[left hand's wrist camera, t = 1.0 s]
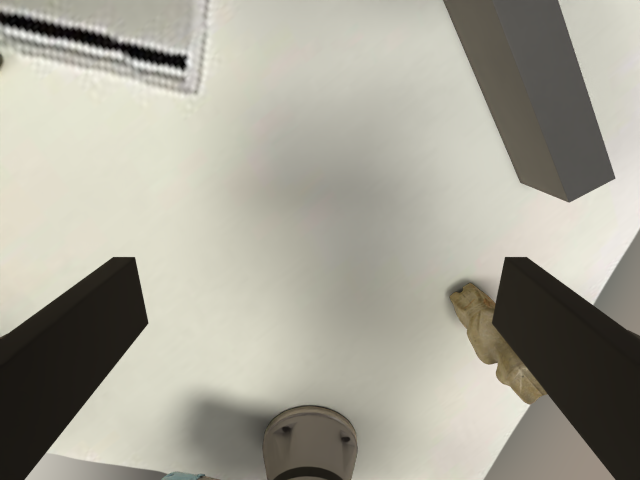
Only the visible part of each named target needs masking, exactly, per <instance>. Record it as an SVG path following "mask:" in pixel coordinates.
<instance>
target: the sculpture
mask: <svg viewBox="0 0 640 480" xmlns="http://www.w3.org/2000/svg"><path fill="white" fill-rule="evenodd" d="M450 299H451V301H452V303H453V305H454V308H455V311H456V314H457V316H458V318H459V320H460V321H461V323H462V324H463V325H464V326H465V328H467V335H468V338H469V340H470V342H471V344H472V346H473V348H474V350H475V352H476V354H477V356H478V357H479V359H480V360H481V361H482V362H484V363H485V364H494V363H498V367H497V370H496V376H497V378H498V380H499V381H500V382H501V383H503V384H505V385H508V386H510V387H511V388H512V389H513V390H514V392H515V393H516V394H517V395H518V396H519V397H520V398H521V399H522V400H523V401H524V402H525V403H527V404H532V403H534V402H535V401H536V400H537V399H538V398H539V397H540V396H543V395H546V394H547V393H546V391H545V390H544V389H543V388H542V386H541V385H540V384H539V382H538V381H537V380H536V379H535V377H534V376H533V375H532V374H531V372H530V371H529V370H528V369H527V367H526V366H525V365H524V364H523V362H522V361H521V360H520V359H519V357H518V356H517V355H516V353H515V352H514V351H513V350H512V348H511V347H510V346H509V345H508V343H507V342H506V341H505V340H504V338H503V337H502V336H501V335H500V333H499V332H498V331H497V329H496V328H495V327H494V326H493V324H492V319H493V314H494V309H495V302H494V301H493V300H492V299H491V298H489V297H488V296H487V295H486V294H485V293H484V292H482V291H480V290H479V289H478V288H477V287H476V286H474V285H473V284H472V283H469V284H467V285H465V286H464V287H463V291H462V292H461V293H458V292H455V293H453V294H452V295H451V296H450Z"/></svg>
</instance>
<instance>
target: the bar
mask: <svg viewBox="0 0 640 480" xmlns="http://www.w3.org/2000/svg"><path fill="white" fill-rule="evenodd" d="M443 1H444V3H445V5H446V8H447V10H448V12H449V15H450V17H451V19H452V22H453V24H454V26H455V29H456V31H457V34H458V36H459V38H460V41H461V43H462V45H463V48H464V50H465V52H466V55H467V57H468V60H469V62H470V64H471V67H472V69H473V71H474V74H475V76H476V78H477V81H478V83H479V85H480V88H481V90H482V93H483V95H484V97H485V100H486V102H487V104H488V107H489V109H490V111H491V114H492V116H493V119H494V121H495V123H496V126H497V128H498V130H499V133H500V135H501V137H502V140H503V142H504V144H505V147H506V149H507V152H508V154H509V156H510V159H511V161H512V163H513V166H514V168H515V170H516V173H517V175H518V178H519V180H520V182H521V183H523V184H525V185H527V186H530V187H532V188H535V189H537V190H540V191H542V192H545V193H547V194H549V195H552V196H554V197H557V198H559V199H562V200H564V201H566V202H571V201H573V200H575V199H577V198H579V197H581V196H583V195H585V194H587V193H588V192H590V191H592V190H594V189H596V188H598V187H600V186H602V185H604V184H606V183H608V182H610V181H612V180H613V179H615V176H614V172H613V169H612V166H611V163H610V160H609V157H608V154H607V151H606V148H605V145H604V141H603V138H602V135H601V132H600V129H599V126H598V123H597V120H596V117H595V114H594V110H593V107H592V104H591V101H590V98H589V95H588V92H587V89H586V86H585V83H584V79H583V76H582V73H581V70H580V67H579V64H578V61H577V58H576V55H575V52H574V49H573V45H572V42H571V39H570V36H569V33H568V30H567V27H566V24H565V21H564V18H563V14H562V11H561V8H560V5H559V2H558V0H443Z"/></svg>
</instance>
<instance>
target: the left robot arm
mask: <svg viewBox="0 0 640 480" xmlns="http://www.w3.org/2000/svg"><path fill="white" fill-rule="evenodd" d="M147 324H148V319H147V314H146V309H145V304H144V299H143V294H142V289H141V285H140V280H139V275H138V270H137V265H136V260H135V257H113V258H111V259H110V260H109V261H107V262H106V263H105V264H103V265H102V266H100V267H99V268H98V269H96V270H95V271H94V272H92V273H91V274H89V275H88V276H87V277H85V278H84V279H83V280H81V281H80V282H78V283H77V284H76V285H74V286H73V287H72V288H70V289H69V290H67V291H66V292H65V293H63V294H62V295H61V296H59V297H58V298H56V299H55V300H54V301H52V302H51V303H50V304H48V305H47V306H45V307H44V308H43V309H41V310H40V311H39V312H37V313H36V314H34V315H33V316H32V317H30V318H29V319H28V320H26V321H25V322H23V323H22V324H21V325H19V326H18V327H17V328H15V329H14V330H12V331H11V332H10V333H8V334H6V335H4V336H2V337H0V480H25V478H26V477H27V476H28V475H29V473H30V472H31V471H32V470H33V468H34V467H35V466H36V464H37V463H38V462H39V461H40V459H41V458H42V457H43V456H44V454H45V453H46V452H47V451H48V449H49V448H50V447H51V446H52V444H53V443H54V442H55V441H56V439H57V438H58V437H59V435H60V434H61V433H62V432H63V430H64V429H65V428H66V427H67V425H68V424H69V423H70V422H71V420H72V419H73V418H74V417H75V415H76V414H77V413H78V411H79V410H80V409H81V408H82V406H83V405H84V404H85V403H86V401H87V400H88V399H89V398H90V396H91V395H92V394H93V393H94V391H95V390H96V389H97V388H98V386H99V385H100V384H101V382H102V381H103V380H104V379H105V377H106V376H107V375H108V374H109V372H110V371H111V370H112V369H113V367H114V366H115V365H116V364H117V362H118V361H119V360H120V359H121V357H122V356H123V355H124V353H125V352H126V351H127V350H128V348H129V347H130V346H131V345H132V343H133V342H134V341H135V340H136V338H137V337H138V336H139V335H140V333H141V332H142V331H143V329H144V328H145V327H146V326H147ZM492 324H493V326H494V327H495V328H496V329H497V331H498V332H499V333H500V335H501V336H502V337H503V338H504V340H505V341H506V342H507V343H508V345H509V346H510V347H511V348H512V350H513V351H514V352H515V353H516V355H517V356H518V357H519V359H520V360H521V361H522V362H523V364H524V365H525V366H526V367H527V369H528V370H529V371H530V372H531V374H532V375H533V376H534V377H535V379H536V380H537V381H538V382H539V384H540V385H541V386H542V388H543V389H544V390H545V391H546V393H547V394H548V395H549V396H550V398H551V399H552V400H553V401H554V403H555V404H556V405H557V406H558V408H559V409H560V410H561V411H562V413H563V414H564V415H565V416H566V418H567V419H568V420H569V422H570V423H571V424H572V425H573V426H574V428H575V429H576V430H577V432H578V433H579V434H580V435H581V437H582V438H583V439H584V440H585V442H586V443H587V444H588V446H589V447H590V448H591V449H592V451H593V452H594V453H595V454H596V456H597V457H598V458H599V459H600V461H601V462H602V463H603V464H604V466H605V467H606V468H607V469H608V471H609V472H610V473H611V475H612V476H613V477H614V478H615V480H640V336H639V335H637V334H635V333H633V332H631V331H629V330H626V329H625V328H623V327H622V326H621V325H619V324H618V323H617V322H615V321H614V320H612V319H611V318H610V317H608V316H607V315H606V314H604V313H603V312H601V311H600V310H599V309H597V308H596V307H595V306H593V305H592V304H590V303H589V302H588V301H586V300H585V299H584V298H582V297H581V296H579V295H578V294H577V293H575V292H574V291H573V290H571V289H570V288H568V287H567V286H566V285H564V284H563V283H562V282H560V281H559V280H557V279H556V278H555V277H553V276H552V275H551V274H549V273H548V272H546V271H545V270H544V269H542V268H541V267H540V266H538V265H537V264H535V263H534V262H533V261H531V260H530V259H529V258H527V257H505V260H504V265H503V270H502V275H501V280H500V285H499V289H498V294H497V299H496V304H495V309H494V314H493V319H492ZM263 456H264V462H265V468H266V474H267V480H351V478H352V474H353V470H354V465H355V461H356V457H357V438H356V433H355V430H354V428H353V426H352V425H351V424H350V422H349V421H348V420H347V419H346V418H344V417H343V416H342V415H340V414H338V413H336V412H334V411H332V410H329V409H326V408H321V407H313V406H306V407H298V408H293V409H290V410H287V411H285V412H283V413H281V414H280V415H278V416H277V417H275V418H274V419H273V420H272V421H271V422H270V424H269V425H268V427H267V429H266V431H265V435H264V441H263ZM162 480H219V479H215V478H211V477H206V476H205V474H198V475H194V474H189V473H183V472H172V473H170V474H168V475H166V476H165V477H164V478H163V479H162Z"/></svg>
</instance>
